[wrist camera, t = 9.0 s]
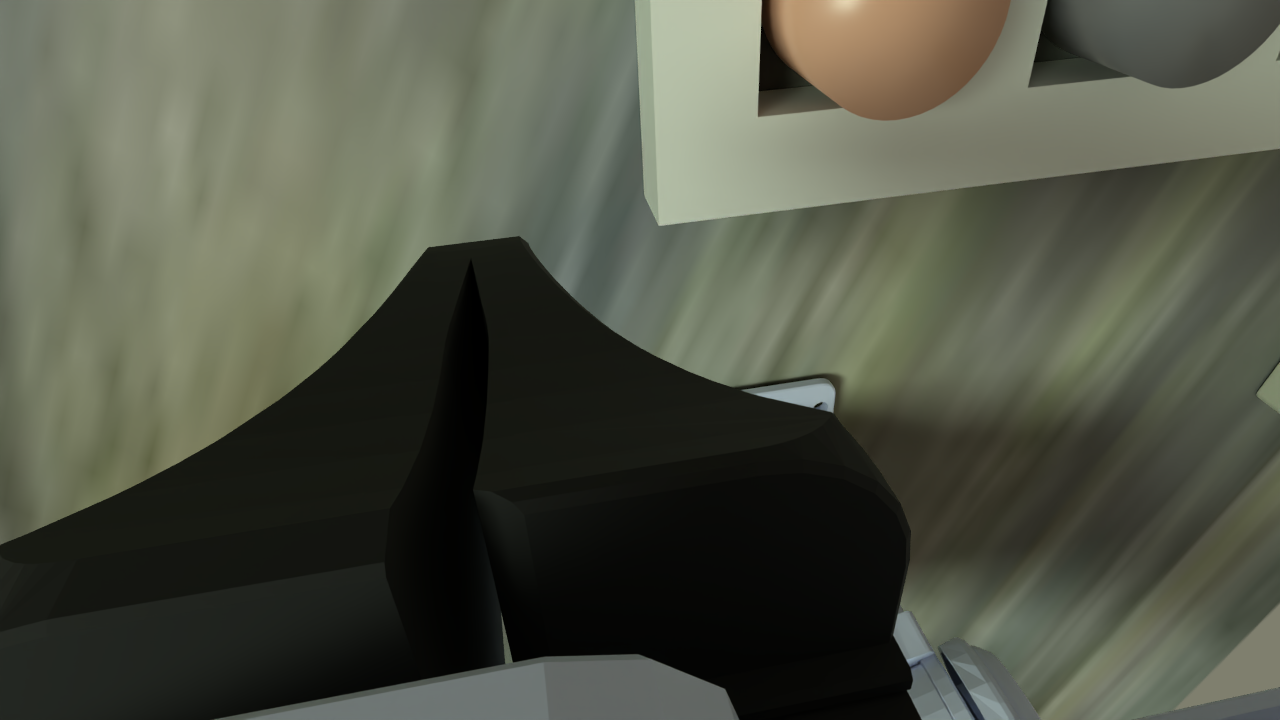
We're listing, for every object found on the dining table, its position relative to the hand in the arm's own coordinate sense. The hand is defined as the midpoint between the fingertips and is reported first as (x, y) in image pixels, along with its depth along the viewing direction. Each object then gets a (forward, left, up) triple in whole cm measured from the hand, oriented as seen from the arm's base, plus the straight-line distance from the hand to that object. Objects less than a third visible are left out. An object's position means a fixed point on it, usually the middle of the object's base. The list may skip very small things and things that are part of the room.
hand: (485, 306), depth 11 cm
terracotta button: (+2, -9, -10) cm, 13 cm away
